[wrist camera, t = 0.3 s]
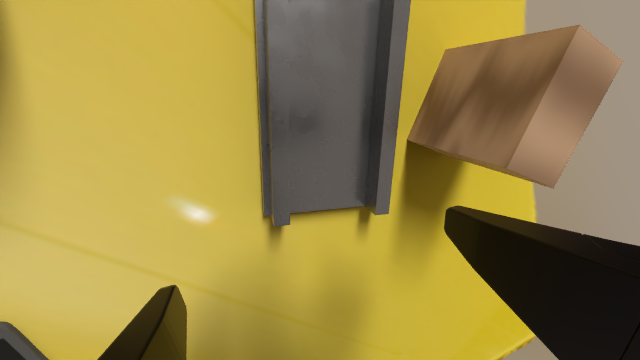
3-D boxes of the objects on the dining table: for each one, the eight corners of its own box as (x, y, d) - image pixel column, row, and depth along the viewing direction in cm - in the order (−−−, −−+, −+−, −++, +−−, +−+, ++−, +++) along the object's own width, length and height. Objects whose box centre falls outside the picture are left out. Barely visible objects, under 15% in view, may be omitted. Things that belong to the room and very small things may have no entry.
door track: (376, 200, 26) (393, 213, 23) (262, 211, 23) (267, 227, 20) (394, 2, 21) (418, -11, 18) (253, -16, 18) (257, -34, 16)
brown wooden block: (443, 154, 27) (553, 188, 18) (406, 139, 25) (506, 168, 16) (482, 71, 25) (623, 61, 16) (445, 49, 24) (579, 24, 15)
